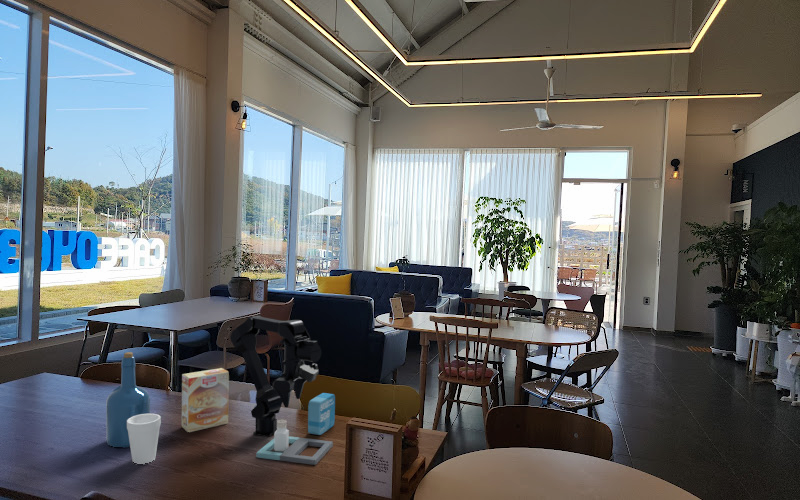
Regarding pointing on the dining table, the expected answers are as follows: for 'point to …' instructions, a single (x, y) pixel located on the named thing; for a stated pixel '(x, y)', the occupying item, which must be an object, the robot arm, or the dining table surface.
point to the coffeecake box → (205, 399)
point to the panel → (296, 450)
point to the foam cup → (143, 437)
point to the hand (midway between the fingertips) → (292, 402)
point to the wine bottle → (125, 404)
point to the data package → (321, 413)
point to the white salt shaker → (281, 436)
